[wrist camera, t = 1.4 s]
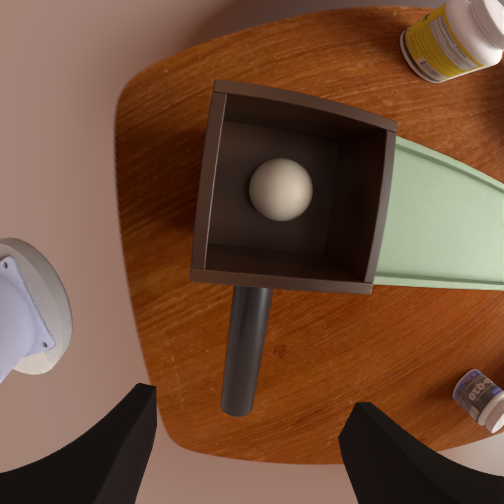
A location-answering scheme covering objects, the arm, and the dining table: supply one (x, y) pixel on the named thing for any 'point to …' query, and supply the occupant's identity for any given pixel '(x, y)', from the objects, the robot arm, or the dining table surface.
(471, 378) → the pill bottle
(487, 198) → the tray
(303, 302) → the dining table surface
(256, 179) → the ball
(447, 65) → the supplement bottle
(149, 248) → the dining table surface
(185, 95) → the dining table surface
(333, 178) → the brown rectangular box
